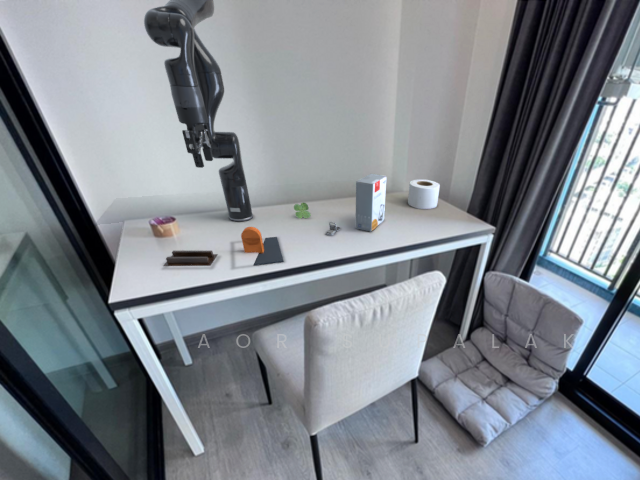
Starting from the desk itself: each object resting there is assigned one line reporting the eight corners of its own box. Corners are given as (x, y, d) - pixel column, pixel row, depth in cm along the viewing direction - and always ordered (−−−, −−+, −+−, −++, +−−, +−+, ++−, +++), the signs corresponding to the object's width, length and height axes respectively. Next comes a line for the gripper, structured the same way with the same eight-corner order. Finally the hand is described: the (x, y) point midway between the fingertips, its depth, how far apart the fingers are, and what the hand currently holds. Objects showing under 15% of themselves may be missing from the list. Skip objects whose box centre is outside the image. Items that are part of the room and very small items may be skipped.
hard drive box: (371, 232, 136) (372, 184, 125) (355, 229, 138) (354, 181, 127) (384, 220, 149) (386, 175, 137) (369, 217, 150) (370, 172, 139)
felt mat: (231, 242, 120) (231, 241, 120) (277, 238, 126) (276, 236, 125) (232, 268, 105) (232, 266, 105) (283, 261, 111) (283, 260, 111)
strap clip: (331, 236, 131) (331, 226, 128) (325, 235, 131) (324, 225, 129) (340, 228, 137) (340, 219, 135) (334, 227, 138) (333, 217, 136)
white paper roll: (422, 211, 162) (425, 189, 156) (401, 202, 171) (403, 181, 165) (442, 205, 171) (446, 185, 165) (422, 197, 180) (424, 177, 174)
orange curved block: (244, 253, 113) (239, 229, 108) (246, 250, 115) (241, 226, 110) (262, 253, 114) (258, 229, 109) (264, 250, 116) (259, 226, 110)
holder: (163, 268, 102) (160, 260, 101) (174, 256, 109) (171, 248, 107) (211, 268, 104) (208, 260, 103) (218, 256, 111) (216, 248, 109)
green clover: (304, 225, 150) (304, 222, 143) (290, 213, 147) (289, 210, 141) (314, 213, 151) (315, 210, 144) (300, 201, 148) (300, 198, 142)
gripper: (185, 101, 98) (200, 158, 107) (164, 105, 86) (183, 169, 96) (211, 103, 99) (224, 159, 108) (194, 107, 88) (210, 170, 97)
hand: (204, 163), depth 102 cm, fingers open, 8 cm apart
